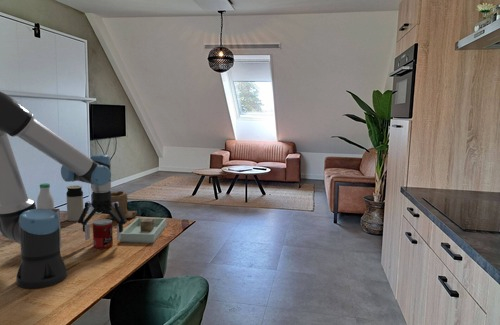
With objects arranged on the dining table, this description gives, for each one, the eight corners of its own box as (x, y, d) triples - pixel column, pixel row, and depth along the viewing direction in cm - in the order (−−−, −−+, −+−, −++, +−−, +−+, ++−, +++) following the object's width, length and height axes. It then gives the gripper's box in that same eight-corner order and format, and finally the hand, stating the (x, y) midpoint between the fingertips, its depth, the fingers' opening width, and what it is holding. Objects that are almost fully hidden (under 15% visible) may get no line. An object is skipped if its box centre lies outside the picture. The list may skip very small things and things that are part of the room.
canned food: (106, 249, 156) (105, 224, 154) (89, 248, 157) (88, 223, 156) (116, 243, 163) (115, 219, 162) (100, 242, 165) (99, 218, 163)
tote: (153, 243, 165) (153, 234, 165) (119, 242, 165) (119, 233, 165) (166, 225, 191) (166, 218, 191) (137, 225, 191) (137, 217, 190)
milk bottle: (57, 221, 195) (56, 183, 192) (43, 224, 188) (41, 185, 186) (49, 218, 199) (47, 182, 197) (34, 222, 193) (32, 184, 190)
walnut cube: (140, 231, 179) (140, 221, 178) (143, 228, 184) (143, 218, 183) (150, 231, 179) (150, 221, 178) (153, 228, 184) (153, 218, 183)
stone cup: (103, 221, 196) (103, 193, 194) (109, 215, 208) (108, 189, 206) (133, 221, 198) (132, 193, 196) (137, 215, 210) (137, 189, 208)
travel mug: (83, 220, 197) (82, 187, 194) (66, 222, 194) (65, 188, 191) (84, 216, 204) (83, 184, 202) (68, 218, 201) (66, 185, 199)
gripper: (133, 189, 161) (134, 236, 164) (76, 188, 161) (78, 235, 164) (128, 193, 154) (129, 242, 156) (67, 192, 153) (70, 241, 156)
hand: (103, 239), depth 160 cm, fingers open, 13 cm apart
